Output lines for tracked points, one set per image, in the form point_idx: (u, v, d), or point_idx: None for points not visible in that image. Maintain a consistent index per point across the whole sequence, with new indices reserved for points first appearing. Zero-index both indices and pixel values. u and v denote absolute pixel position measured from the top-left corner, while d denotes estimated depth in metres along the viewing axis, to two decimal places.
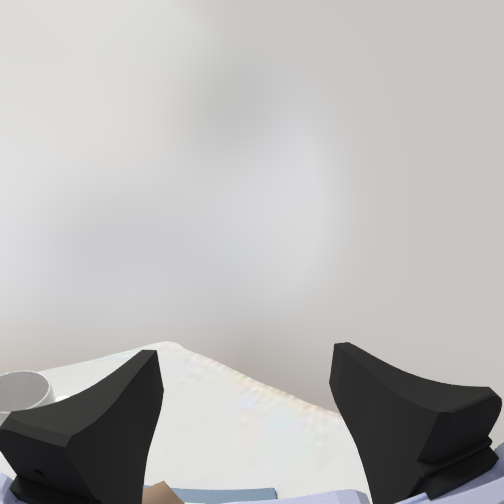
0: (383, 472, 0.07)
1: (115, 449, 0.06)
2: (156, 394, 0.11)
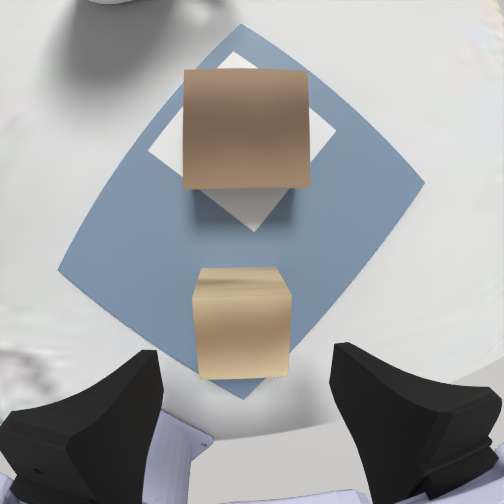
0: (383, 472, 0.07)
1: (115, 449, 0.06)
2: (156, 394, 0.11)
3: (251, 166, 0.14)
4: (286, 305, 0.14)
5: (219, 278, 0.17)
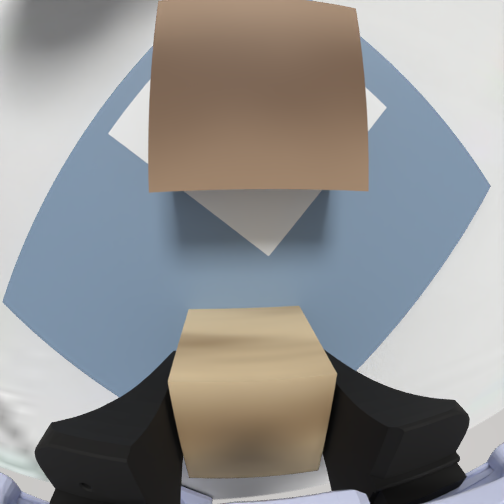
0: (343, 482, 0.07)
1: (161, 454, 0.06)
2: None
3: (269, 151, 0.08)
4: (326, 389, 0.08)
5: (215, 333, 0.10)
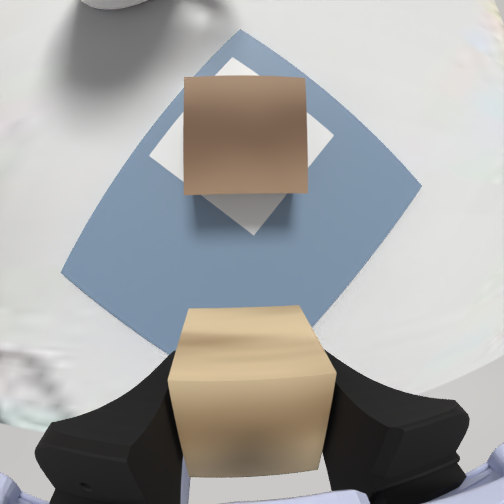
0: (343, 482, 0.07)
1: (161, 454, 0.06)
2: None
3: (250, 172, 0.15)
4: (326, 388, 0.08)
5: (214, 332, 0.10)
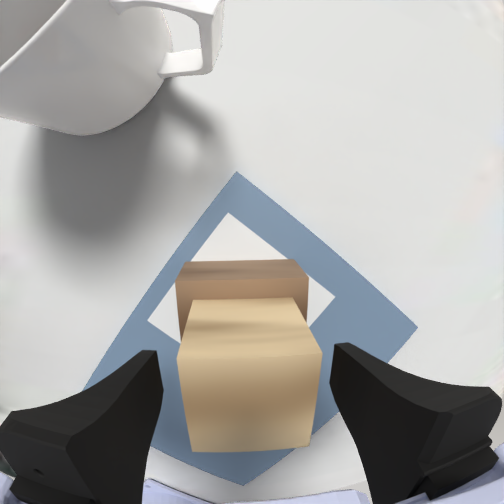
0: (383, 472, 0.07)
1: (115, 449, 0.06)
2: (156, 394, 0.11)
3: None
4: (314, 367, 0.09)
5: (216, 319, 0.12)
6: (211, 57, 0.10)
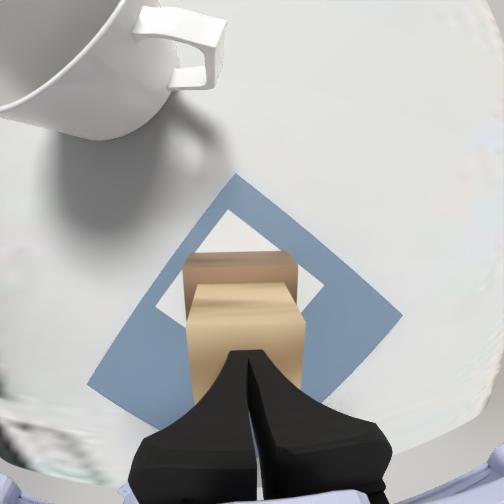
0: (266, 493, 0.06)
1: None
2: (248, 394, 0.11)
3: None
4: (299, 335, 0.12)
5: (218, 298, 0.14)
6: (214, 77, 0.12)
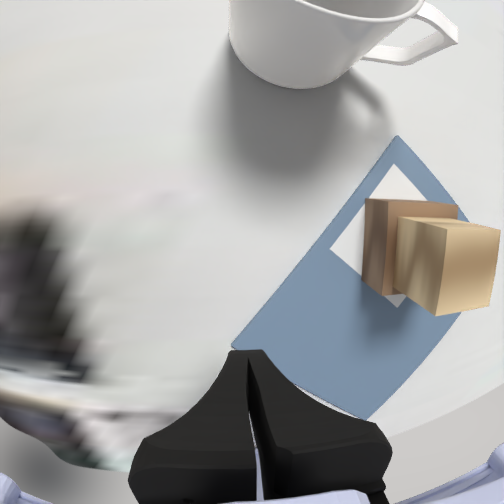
0: (266, 493, 0.06)
1: None
2: (248, 394, 0.11)
3: None
4: (497, 239, 0.13)
5: (431, 221, 0.16)
6: (422, 58, 0.13)
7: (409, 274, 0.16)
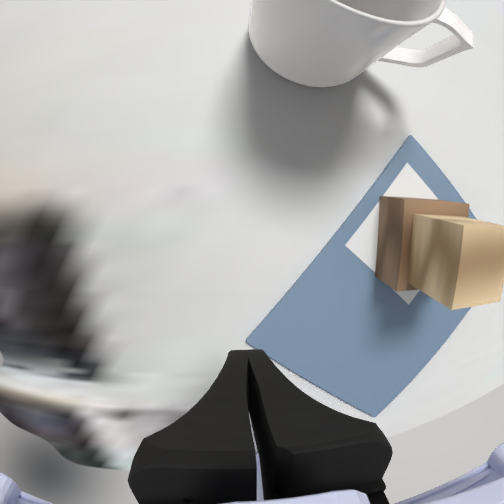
0: (266, 493, 0.06)
1: None
2: (248, 394, 0.11)
3: None
4: None
5: (446, 218, 0.16)
6: None
7: (424, 270, 0.16)
